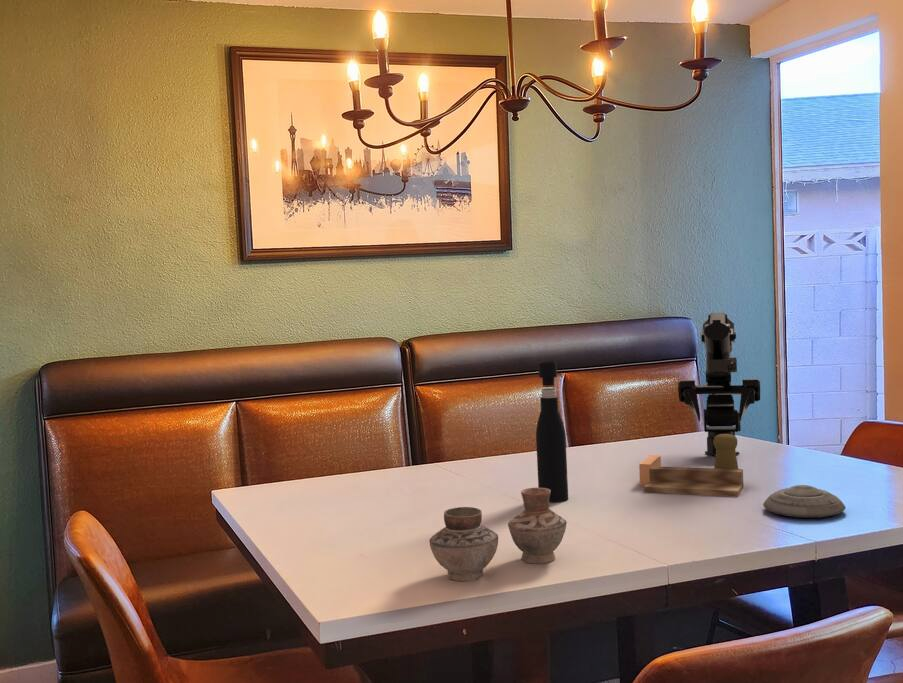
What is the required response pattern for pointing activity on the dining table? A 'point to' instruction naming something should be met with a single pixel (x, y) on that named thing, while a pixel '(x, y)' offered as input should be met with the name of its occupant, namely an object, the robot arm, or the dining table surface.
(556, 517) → the pottery
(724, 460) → the cork
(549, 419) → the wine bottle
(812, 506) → the flying saucer
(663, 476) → the guide rail
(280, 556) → the dining table surface
